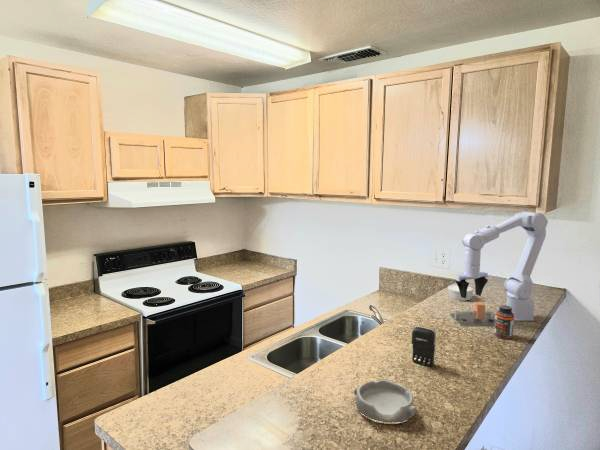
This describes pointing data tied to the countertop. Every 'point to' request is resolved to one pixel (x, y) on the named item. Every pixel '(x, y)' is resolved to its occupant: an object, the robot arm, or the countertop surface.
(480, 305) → the block
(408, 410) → the dish
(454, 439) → the countertop surface
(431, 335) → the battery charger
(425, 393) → the countertop surface
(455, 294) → the ramekin
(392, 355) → the countertop surface
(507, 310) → the supplement bottle
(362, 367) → the countertop surface
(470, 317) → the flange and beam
